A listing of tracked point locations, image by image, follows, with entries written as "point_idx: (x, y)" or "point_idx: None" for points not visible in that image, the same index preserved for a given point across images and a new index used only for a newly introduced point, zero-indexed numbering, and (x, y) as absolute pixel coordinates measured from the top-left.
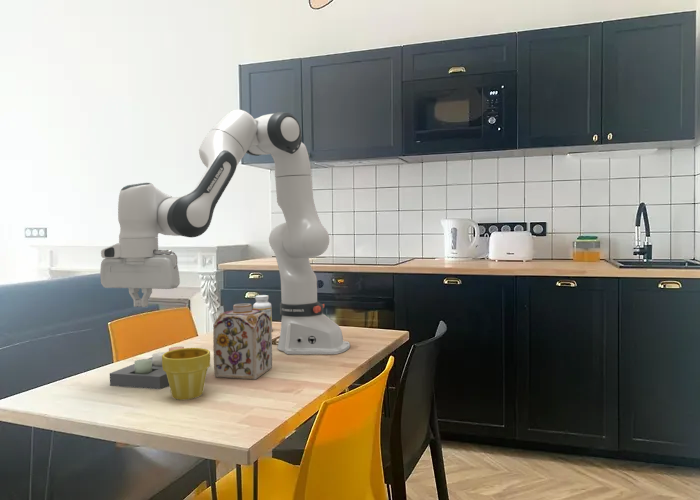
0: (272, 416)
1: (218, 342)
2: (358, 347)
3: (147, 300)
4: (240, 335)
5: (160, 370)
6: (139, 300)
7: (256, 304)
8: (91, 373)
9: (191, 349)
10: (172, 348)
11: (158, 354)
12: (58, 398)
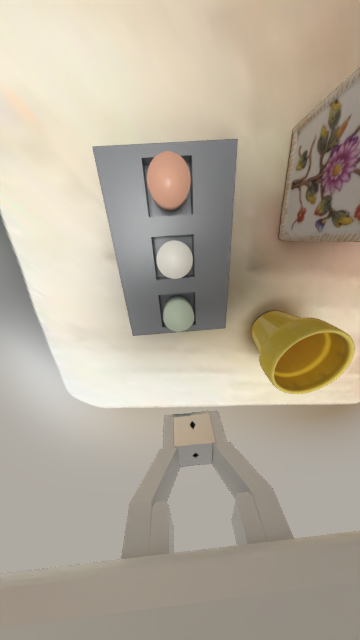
0: None
1: (352, 241)
2: None
3: (224, 438)
4: None
5: (204, 299)
6: (201, 461)
7: None
8: (36, 282)
9: (309, 335)
10: (159, 187)
11: (170, 263)
12: (121, 377)
